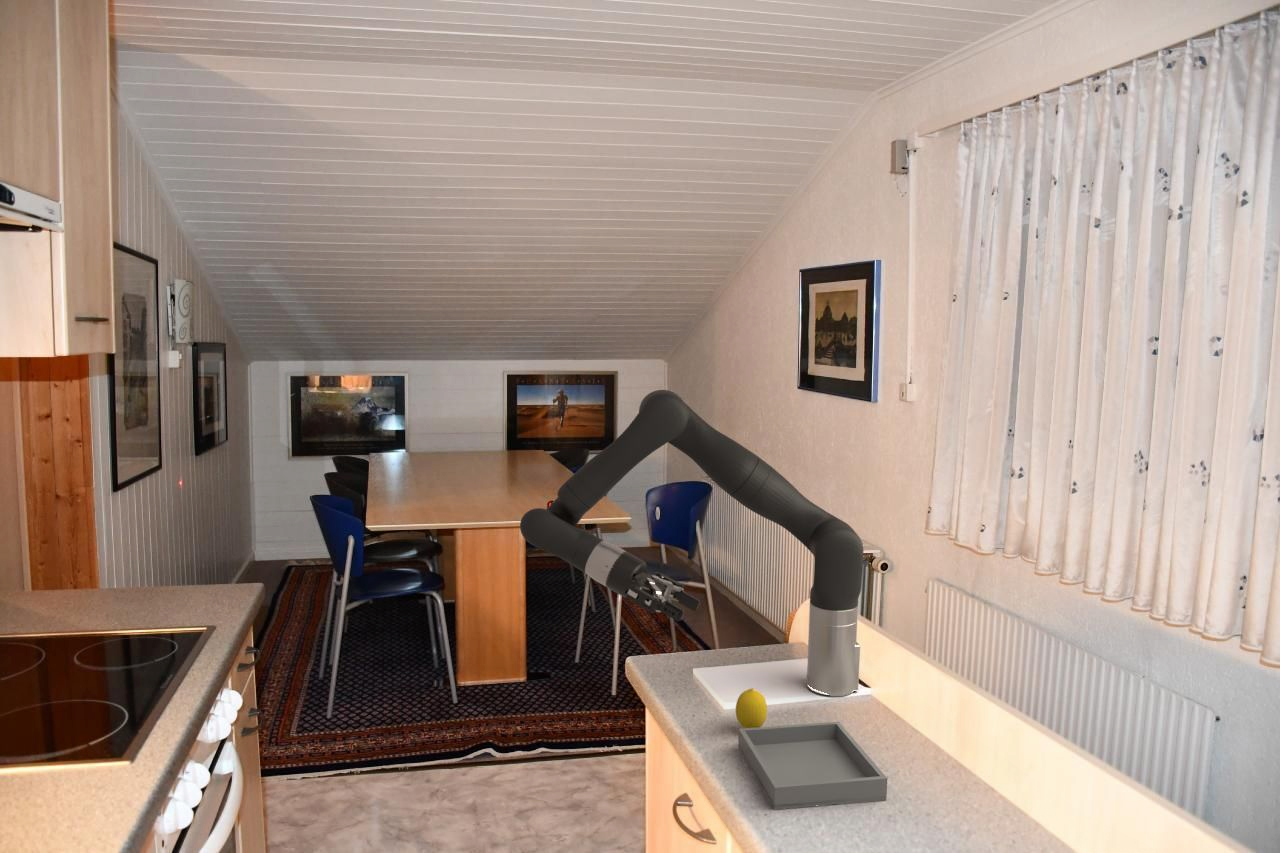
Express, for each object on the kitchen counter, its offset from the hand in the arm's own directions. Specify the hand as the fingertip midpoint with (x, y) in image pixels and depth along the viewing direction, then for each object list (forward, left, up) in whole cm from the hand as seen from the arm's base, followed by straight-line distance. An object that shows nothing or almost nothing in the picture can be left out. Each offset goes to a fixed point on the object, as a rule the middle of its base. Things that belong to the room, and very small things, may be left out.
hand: (690, 611), depth 178 cm
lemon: (-10, +8, -20) cm, 24 cm away
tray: (-15, +24, -20) cm, 34 cm away
